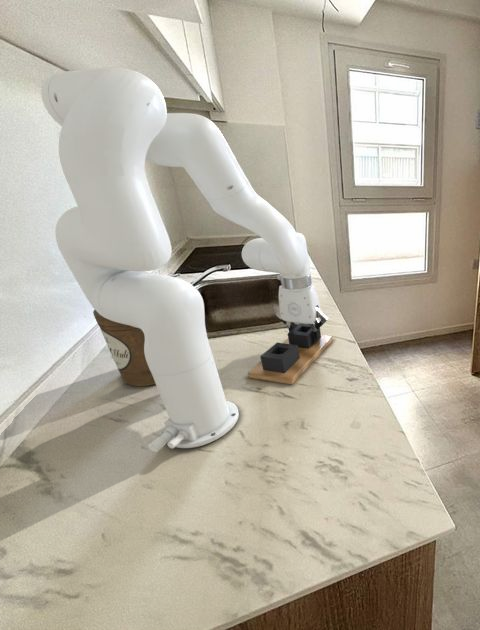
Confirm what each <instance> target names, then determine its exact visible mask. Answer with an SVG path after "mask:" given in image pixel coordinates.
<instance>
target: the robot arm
mask: <svg viewBox="0 0 480 630" xmlns="http://www.w3.org/2000/svg"><path fill="white" fill-rule="evenodd" d="M40 93H41V100H42V103H43V106H44V108H45V110H46V111H47V113H48V115H49V116H50V117H51V118H52V119H53V120H54V121H55V122H56V123H57V124H58V125H59V126H60V127H61V129H60V133H59V138H58V157H59V162H60V165H61V166H60V167H61V169H62V172H63V175H64V177H65V180H66V183H67V184H68V186H69V189H70V191H71V193H72V196H73V199H74V200H75V202H76V203H75V204H76V205H77V206H74V207H71V208H69V209H68V210H66V211H64V213H62V214H61V216H60V217H59V218H58V220H57V222H56V225H55V232H54V233H55V240H56V245H57V247H58V250H59V252H60V254H61V256H62V257H63V260H64V262H66V264H67V266H68V268H69V270H70V272H71V273H72V275H73V277H74V279H75V280H76V282H77V284H78V286H79V287H80V289H81V291H82V293H83V295H84V296H85V298H86V299H87V301H88V302H89V304H90V305H91V307H92V308H93V309H94V310H96V311H97V312H98V313H99V314H100V315H102V316H103V317H105V318H107V319H109V320H111V321H114V322H117V323H121V324H126V325H130V326H133V327H136V328H140V329H141V330H142V331H143V332H144V336H145V343H144V354H145V358H146V361H147V364H148V367H149V369H150V371H151V373H152V376H153V378H154V381H155V383H156V384H155V387H156V388H157V390H158V393H159V396H160V398H161V401H162V403H163V405H164V408H165V410H166V413H167V416H168V419H167V420H165V421H164V425H165V429H163V431H162V434H161V435H159V436H157V437H156V438H155V439H154V440H152V441H151V442H150V443H148V445H147V447H148V449H149V450H150V451H151V452H152V453H158V452H159V451H160V450H161V449H162V448H164V447H165V446H166V445H167V447H168V448H169V449H174V448H179V449H193V448H198V447H202V446H205V445H208V444H210V443H212V442H214V441H217V440H218V439H220V438H221V437H224V436H225V435H226V434H227V433H228V432H230V431H231V429H233V427H235V426H236V424H237V422H238V421H239V417H240V416H239V415H240V412H239V408H238V406H237V405H236V404H235V403H233V402H232V401H229V400H227V399H226V395H225V392H224V389H223V385H222V381H221V378H220V375H219V372H218V369H217V365H216V361H215V358H214V355H213V352H212V348H211V345H210V342H209V338H208V333H207V329H206V314H205V313H206V312H205V302H204V299H203V296H202V295H201V292H200V291H199V290H198V289H197V287H195V286H194V285H193V284H191V283H190V282H188V281H186V280H184V279H182V278H179V277H176V276H171V275H165V274H159V273H152V271H156V270H160V269H161V268H163V267H164V266H165V265H167V264H168V262H170V259H171V256H172V252H173V251H172V250H173V249H172V244H171V240H170V236H169V234H168V231H167V229H166V226H165V224H164V221H163V219H162V216H161V214H160V213H161V212H160V211H159V209H158V205H157V204H156V201H155V199H154V196H153V193H152V190H151V188H150V185H149V181H148V178H147V174H146V162H148V163H151V164H155V165H159V166H162V167H171V168H176V167H177V168H183V169H184V170H185V171H186V173H187V174H188V176H189V177H190V178H191V180H193V182H194V184H195V185H196V187H197V188H198V190H199V191H200V192H201V194H202V196H203V197H204V198H205V199H206V201H207V202H208V204H209V205H210V207H211V208H212V210H213V211H214V212H215V213H217V214H218V215H219V216H221V217H222V218H224V219H226V220H228V221H230V222H232V223H234V224H236V225H238V226H240V227H243V228H244V229H247V230H249V231H251V232H252V233H254V234H256V235H257V236H258V238H253V239H251V240H249V241H247V242H246V243H245V244H244V245H243V248H242V249H241V250H242V251H241V258H242V261H243V263H244V264H245V265H246V266H247V267H248V268H250V269H252V270H255V271H260V272H266V273H274V274H278V275H277V276H276V279H277V280H278V281H280V284H281V285H279V287H278V311H277V312H276V313H275V316H276V317H277V318H278V319H280V321H281V322H282V323H283V324H284V325H285V328H286V329H288V333H289V332H290V331H291V330H293V329H294V328H295V327H296V326H298V324H300V323H303V324H309V325H310V327H311V329H312V331H311V336H312V343H313V344H315V343H316V342H317V341H318V340H319V339H320V332H321V330H320V331H319V328H320V329H321V328H322V326H323V325H325V324H326V323H327V322H328V321H329V317H328V316H327V315H326V314H325V313H324V312H323V311H322V310H321V305H320V300H319V296H318V292H317V289H316V287H315V284H313V283H312V275H311V267H310V261H309V260H310V259H309V253H308V246H307V239H306V237H305V235H304V234H302V233H300V232H297V231H296V229H295V228H294V227H293V225H292V223H291V222H290V221H289V220H288V219H287V218H286V217H285V216H284V215H283V214H281V213H280V212H279V211H278V210H277V209H276V208H275V207H274V206H272V204H270V203H269V202H268V201H266V200H265V199H264V198H262V197H261V196H260V195H259V194H258V193H257V192H256V191H255V189H254V187H253V186H252V184H251V183H250V181H249V179H248V177H247V176H246V174H245V172H244V170H243V169H242V167H241V165H240V164H239V161H238V160H237V158H236V156H235V154H234V152H233V151H232V149H231V148H230V146H229V144H228V142H227V141H226V139H225V137H224V135H223V134H222V132H221V130H220V128H218V126H217V125H216V124H215V122H213V121H212V120H211V119H209V118H208V117H206V116H203V115H201V114H198V113H189V112H168V109H167V103H166V100H165V97H164V95H163V94H162V91H161V90H160V87H158V85H157V84H156V83H155V82H154V81H153V80H152V79H150V78H149V77H147V76H146V75H145V74H143V73H141V72H140V71H138V70H137V71H136V70H134V69H130V68H126V67H117V66H105V67H104V66H103V67H93V68H86V69H78V70H67V71H60V72H56V73H53V74H52V75H49V76H48V77H47V78H46V79H45V80H44V82H43V83H42V85H41V91H40ZM319 320H320V321H319ZM315 325H316V326H315Z"/></svg>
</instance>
